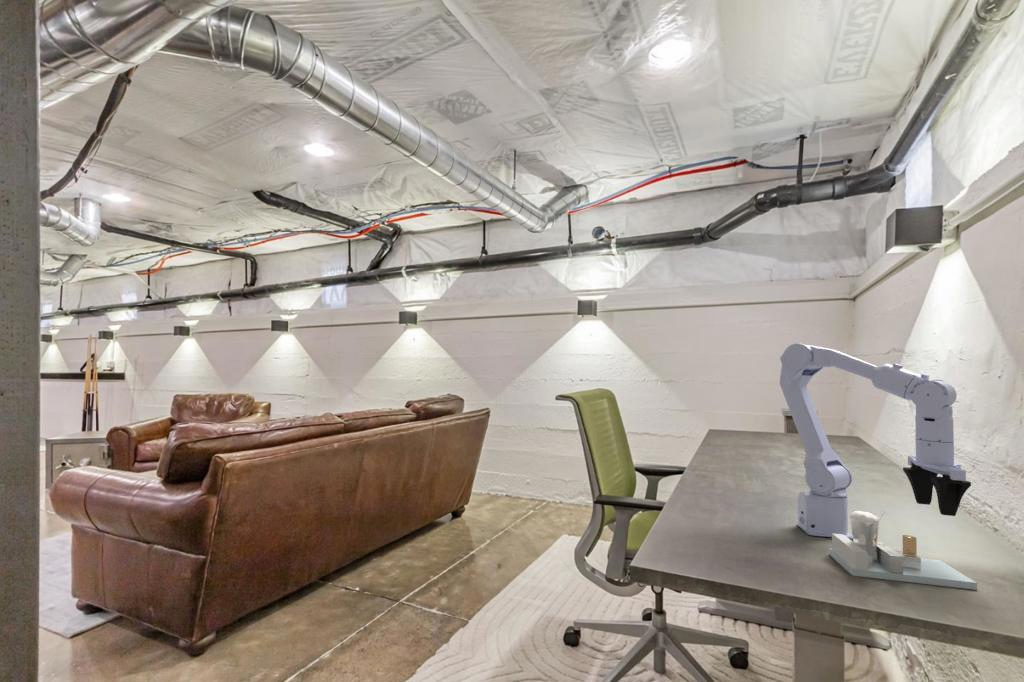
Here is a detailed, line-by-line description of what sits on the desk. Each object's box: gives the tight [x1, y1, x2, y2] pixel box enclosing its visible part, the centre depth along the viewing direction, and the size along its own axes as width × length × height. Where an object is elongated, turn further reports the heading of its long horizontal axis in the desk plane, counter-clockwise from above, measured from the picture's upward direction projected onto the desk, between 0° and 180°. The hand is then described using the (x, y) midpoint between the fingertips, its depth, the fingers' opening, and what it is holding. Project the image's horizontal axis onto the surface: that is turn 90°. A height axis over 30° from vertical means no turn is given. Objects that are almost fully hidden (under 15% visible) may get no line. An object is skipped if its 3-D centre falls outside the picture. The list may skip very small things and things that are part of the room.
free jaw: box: [876, 534, 922, 574], centre depth 89 cm, size 6×10×5 cm, turn 167°
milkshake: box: [849, 510, 886, 564], centre depth 91 cm, size 4×5×10 cm
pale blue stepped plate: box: [828, 533, 978, 591], centre depth 89 cm, size 19×10×4 cm, turn 77°
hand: (935, 509), depth 94 cm, fingers open, 7 cm apart
